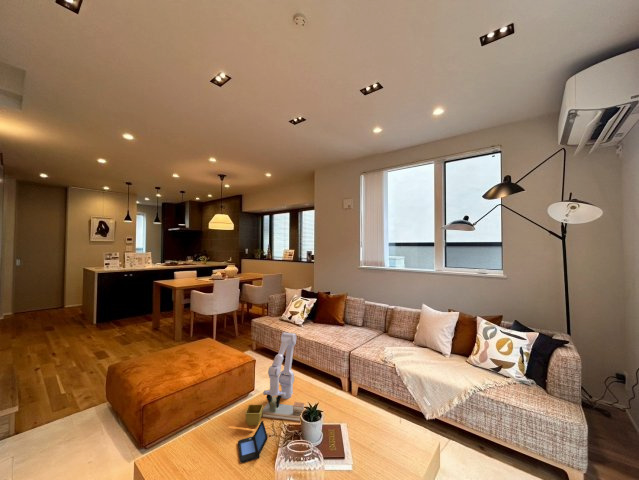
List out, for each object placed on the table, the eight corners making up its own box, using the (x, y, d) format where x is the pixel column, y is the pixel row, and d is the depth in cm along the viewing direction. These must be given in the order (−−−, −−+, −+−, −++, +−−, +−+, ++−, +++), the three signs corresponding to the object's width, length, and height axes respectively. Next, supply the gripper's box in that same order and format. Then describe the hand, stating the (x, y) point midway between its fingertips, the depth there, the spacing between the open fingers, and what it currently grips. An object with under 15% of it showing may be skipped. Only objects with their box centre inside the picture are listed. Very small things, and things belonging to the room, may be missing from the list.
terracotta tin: (294, 411, 168) (294, 402, 168) (304, 412, 167) (304, 403, 167) (293, 415, 164) (293, 405, 164) (302, 416, 162) (302, 406, 163)
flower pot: (259, 429, 153) (259, 413, 153) (244, 429, 153) (244, 413, 153) (263, 419, 162) (263, 404, 162) (249, 419, 162) (249, 404, 162)
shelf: (267, 404, 178) (267, 399, 178) (311, 408, 172) (310, 404, 172) (258, 418, 163) (258, 413, 163) (305, 423, 157) (305, 418, 158)
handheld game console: (237, 442, 142) (237, 425, 143) (262, 436, 147) (262, 419, 148) (240, 464, 128) (240, 444, 128) (267, 456, 133) (268, 437, 133)
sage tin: (269, 411, 168) (269, 401, 169) (273, 405, 174) (273, 396, 174) (275, 412, 168) (275, 402, 168) (279, 406, 173) (279, 397, 174)
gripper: (261, 387, 169) (261, 409, 168) (283, 389, 166) (283, 411, 166) (265, 382, 176) (265, 402, 175) (286, 383, 173) (286, 405, 173)
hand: (274, 406), depth 171 cm, fingers closed on sage tin, 4 cm apart
